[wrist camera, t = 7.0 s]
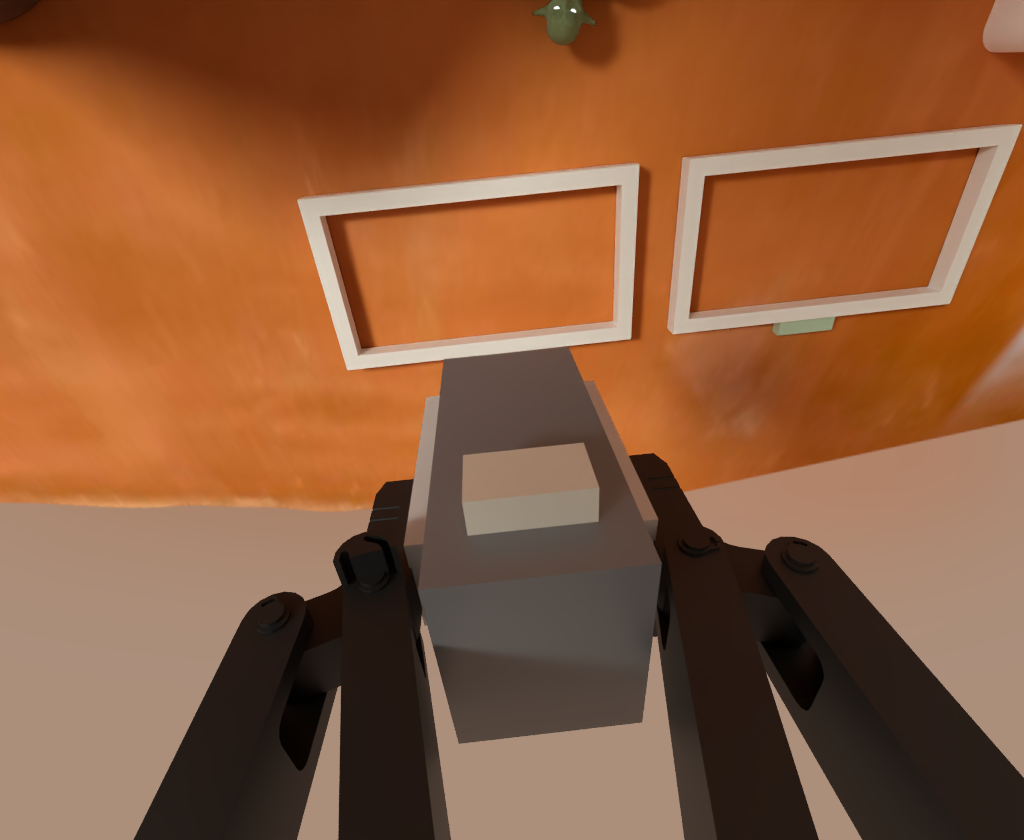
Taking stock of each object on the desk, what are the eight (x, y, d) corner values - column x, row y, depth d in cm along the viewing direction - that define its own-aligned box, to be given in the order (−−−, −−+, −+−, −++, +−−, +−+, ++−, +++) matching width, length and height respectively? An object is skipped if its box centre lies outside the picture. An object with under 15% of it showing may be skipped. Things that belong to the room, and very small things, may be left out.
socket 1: (355, 377, 36) (352, 385, 35) (302, 196, 29) (296, 199, 28) (625, 347, 36) (630, 354, 35) (633, 162, 30) (639, 164, 29)
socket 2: (665, 343, 36) (671, 349, 35) (682, 157, 30) (690, 158, 29) (929, 314, 37) (943, 319, 35) (1003, 124, 30) (1022, 124, 29)
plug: (463, 481, 18) (458, 743, 11) (440, 335, 15) (408, 555, 8) (570, 470, 18) (642, 721, 11) (568, 322, 15) (666, 528, 8)
